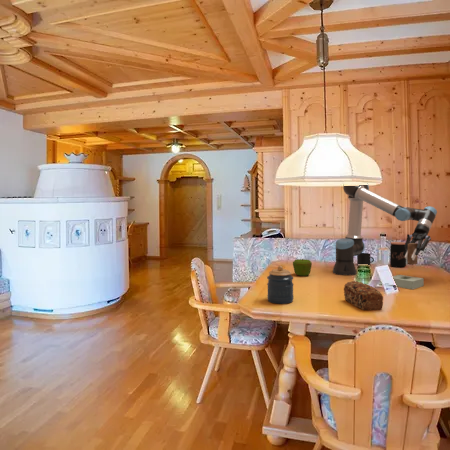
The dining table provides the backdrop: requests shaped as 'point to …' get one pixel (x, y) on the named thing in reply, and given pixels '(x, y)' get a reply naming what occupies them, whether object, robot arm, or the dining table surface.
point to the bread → (363, 296)
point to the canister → (280, 286)
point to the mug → (364, 258)
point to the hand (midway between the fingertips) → (409, 258)
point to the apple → (302, 267)
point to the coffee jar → (397, 254)
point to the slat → (410, 251)
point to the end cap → (408, 281)
